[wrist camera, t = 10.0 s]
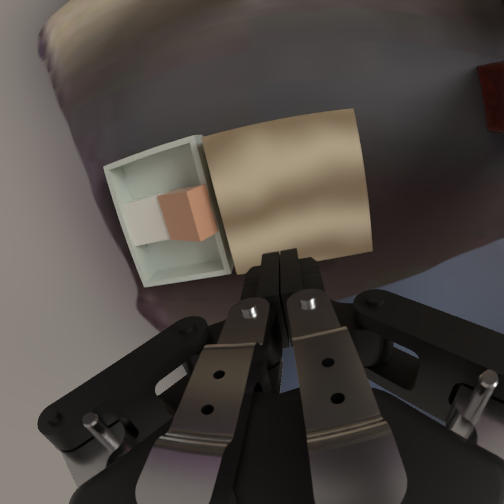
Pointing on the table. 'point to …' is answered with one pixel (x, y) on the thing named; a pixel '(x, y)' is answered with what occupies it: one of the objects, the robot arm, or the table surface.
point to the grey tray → (169, 178)
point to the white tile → (146, 219)
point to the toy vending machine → (493, 94)
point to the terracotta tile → (188, 213)
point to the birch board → (291, 187)
